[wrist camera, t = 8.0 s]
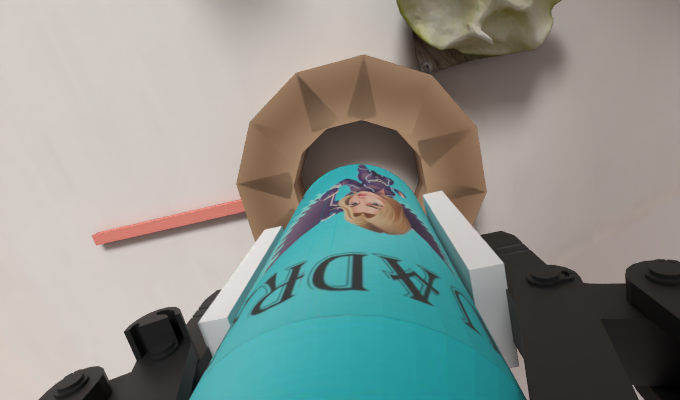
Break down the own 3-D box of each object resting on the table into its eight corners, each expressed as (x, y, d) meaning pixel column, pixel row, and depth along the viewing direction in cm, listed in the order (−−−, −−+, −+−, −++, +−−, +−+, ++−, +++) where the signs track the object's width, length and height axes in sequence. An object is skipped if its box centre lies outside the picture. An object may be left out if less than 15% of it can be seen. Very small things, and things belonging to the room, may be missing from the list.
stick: (97, 232, 28) (91, 235, 28) (253, 196, 27) (251, 198, 26) (101, 242, 29) (96, 245, 28) (257, 206, 27) (255, 209, 27)
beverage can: (418, 156, 18) (656, 407, 3) (416, 266, 19) (576, 759, 5) (298, 159, 18) (66, 400, 4) (305, 267, 20) (159, 730, 5)
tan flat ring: (225, 96, 25) (207, 96, 22) (449, 36, 23) (461, 28, 21) (287, 292, 29) (278, 313, 26) (484, 252, 27) (498, 271, 24)
